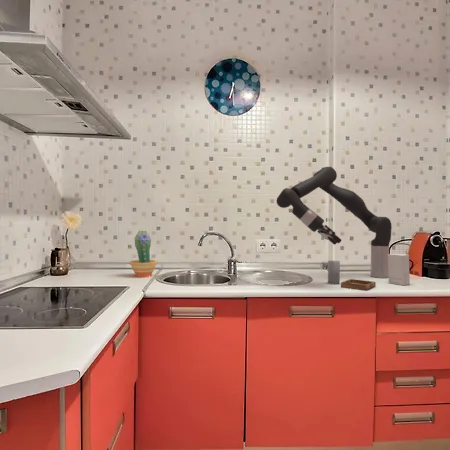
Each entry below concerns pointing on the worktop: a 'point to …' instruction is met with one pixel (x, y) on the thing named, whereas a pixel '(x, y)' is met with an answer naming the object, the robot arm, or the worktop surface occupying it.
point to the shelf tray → (358, 284)
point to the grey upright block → (334, 272)
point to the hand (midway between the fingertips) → (338, 242)
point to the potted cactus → (143, 256)
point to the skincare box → (398, 269)
